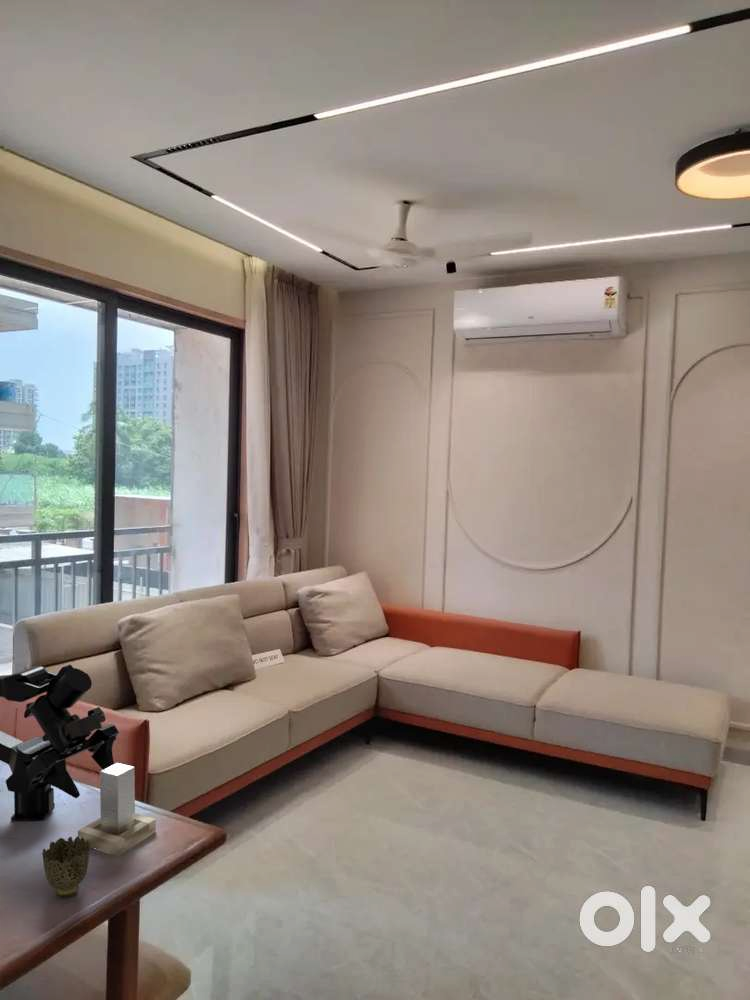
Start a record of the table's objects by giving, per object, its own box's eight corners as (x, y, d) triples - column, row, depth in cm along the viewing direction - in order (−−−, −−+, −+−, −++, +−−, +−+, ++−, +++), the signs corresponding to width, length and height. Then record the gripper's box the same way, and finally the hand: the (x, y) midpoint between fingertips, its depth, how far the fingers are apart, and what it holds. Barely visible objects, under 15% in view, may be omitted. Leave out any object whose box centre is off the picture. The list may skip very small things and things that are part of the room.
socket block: (78, 845, 139) (77, 830, 139) (117, 822, 148) (117, 808, 148) (117, 858, 134) (117, 843, 134) (155, 834, 143) (155, 819, 143)
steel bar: (100, 837, 140) (100, 771, 139) (117, 826, 144) (117, 762, 143) (118, 842, 138) (117, 775, 137) (135, 832, 142) (134, 766, 141)
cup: (73, 909, 119) (72, 861, 118) (33, 903, 120) (32, 856, 120) (99, 883, 126) (99, 838, 125) (61, 878, 127) (60, 833, 127)
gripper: (36, 713, 135) (80, 783, 131) (112, 685, 152) (153, 747, 148) (7, 746, 139) (49, 816, 135) (85, 715, 156) (123, 777, 152)
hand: (96, 787), depth 143 cm, fingers open, 9 cm apart
